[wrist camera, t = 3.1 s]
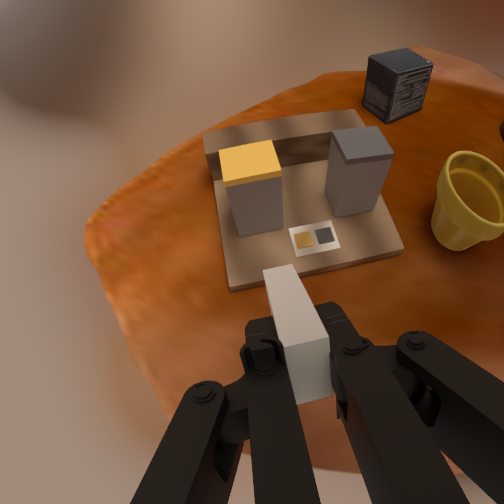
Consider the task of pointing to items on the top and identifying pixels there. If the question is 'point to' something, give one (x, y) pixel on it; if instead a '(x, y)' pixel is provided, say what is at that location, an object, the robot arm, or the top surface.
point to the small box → (396, 84)
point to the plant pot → (468, 201)
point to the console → (298, 204)
